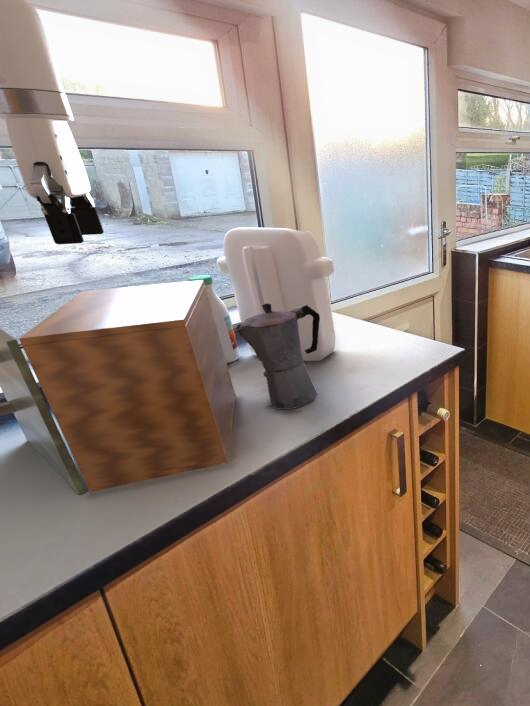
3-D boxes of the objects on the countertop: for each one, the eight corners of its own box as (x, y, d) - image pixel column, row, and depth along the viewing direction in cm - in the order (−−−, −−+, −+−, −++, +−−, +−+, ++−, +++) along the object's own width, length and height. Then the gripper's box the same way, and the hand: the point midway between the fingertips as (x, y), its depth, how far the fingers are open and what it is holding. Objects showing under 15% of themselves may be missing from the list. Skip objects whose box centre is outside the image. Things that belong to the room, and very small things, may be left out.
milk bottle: (230, 365, 115) (206, 280, 107) (197, 366, 115) (171, 281, 107) (246, 353, 122) (225, 272, 114) (215, 353, 122) (192, 273, 114)
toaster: (226, 359, 119) (190, 230, 106) (257, 343, 129) (227, 223, 116) (328, 368, 113) (303, 233, 101) (352, 350, 123) (332, 225, 110)
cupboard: (89, 492, 72) (18, 338, 62) (130, 415, 94) (82, 291, 84) (227, 463, 79) (183, 319, 69) (236, 397, 101) (203, 279, 90)
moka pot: (246, 404, 97) (219, 306, 89) (319, 380, 108) (302, 289, 99) (267, 420, 92) (240, 316, 83) (342, 393, 102) (325, 298, 93)
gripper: (26, 111, 73) (70, 232, 80) (-36, 101, 58) (25, 249, 65) (88, 113, 75) (126, 230, 82) (44, 103, 61) (94, 245, 68)
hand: (81, 238), depth 74 cm, fingers open, 9 cm apart
